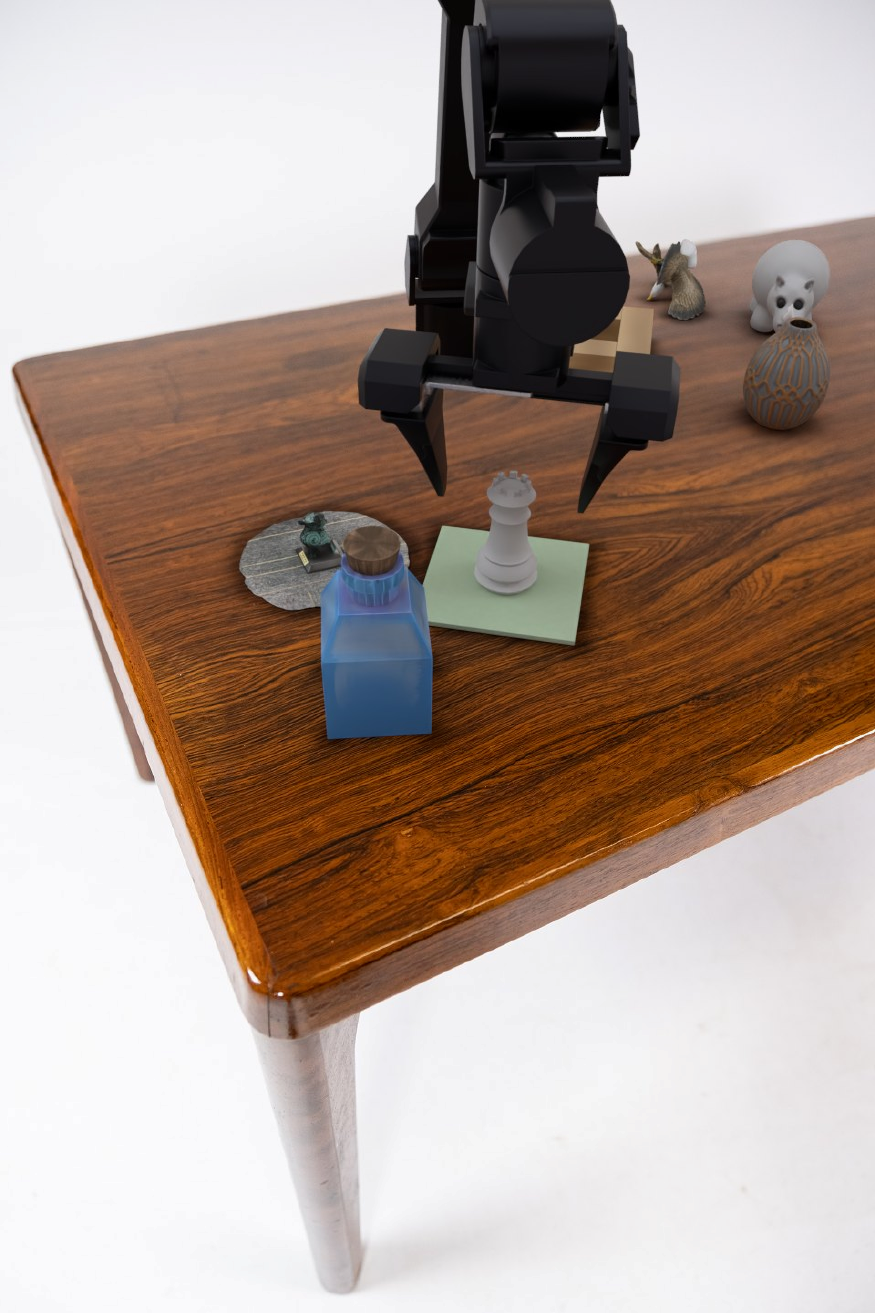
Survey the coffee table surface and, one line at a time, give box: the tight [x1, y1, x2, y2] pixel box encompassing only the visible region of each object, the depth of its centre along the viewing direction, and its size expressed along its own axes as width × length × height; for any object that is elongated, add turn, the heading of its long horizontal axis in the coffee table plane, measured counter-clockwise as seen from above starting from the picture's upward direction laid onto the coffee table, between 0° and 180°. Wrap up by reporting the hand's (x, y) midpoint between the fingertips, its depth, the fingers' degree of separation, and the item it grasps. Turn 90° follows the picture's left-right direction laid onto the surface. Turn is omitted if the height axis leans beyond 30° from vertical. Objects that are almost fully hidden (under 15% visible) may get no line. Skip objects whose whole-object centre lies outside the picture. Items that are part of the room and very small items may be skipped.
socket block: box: [569, 305, 655, 373], centre depth 95 cm, size 11×11×4 cm
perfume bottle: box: [320, 526, 434, 740], centre depth 59 cm, size 6×6×12 cm
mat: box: [421, 525, 590, 647], centre depth 71 cm, size 11×11×1 cm
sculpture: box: [238, 510, 411, 611], centre depth 73 cm, size 12×9×8 cm
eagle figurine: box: [635, 238, 706, 321], centre depth 105 cm, size 8×7×9 cm
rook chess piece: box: [474, 470, 537, 595], centre depth 68 cm, size 4×4×8 cm
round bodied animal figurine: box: [749, 239, 831, 333], centre depth 98 cm, size 7×12×8 cm, turn 163°
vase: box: [742, 317, 831, 431], centre depth 86 cm, size 7×7×9 cm
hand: (510, 501), depth 67 cm, fingers open, 9 cm apart
